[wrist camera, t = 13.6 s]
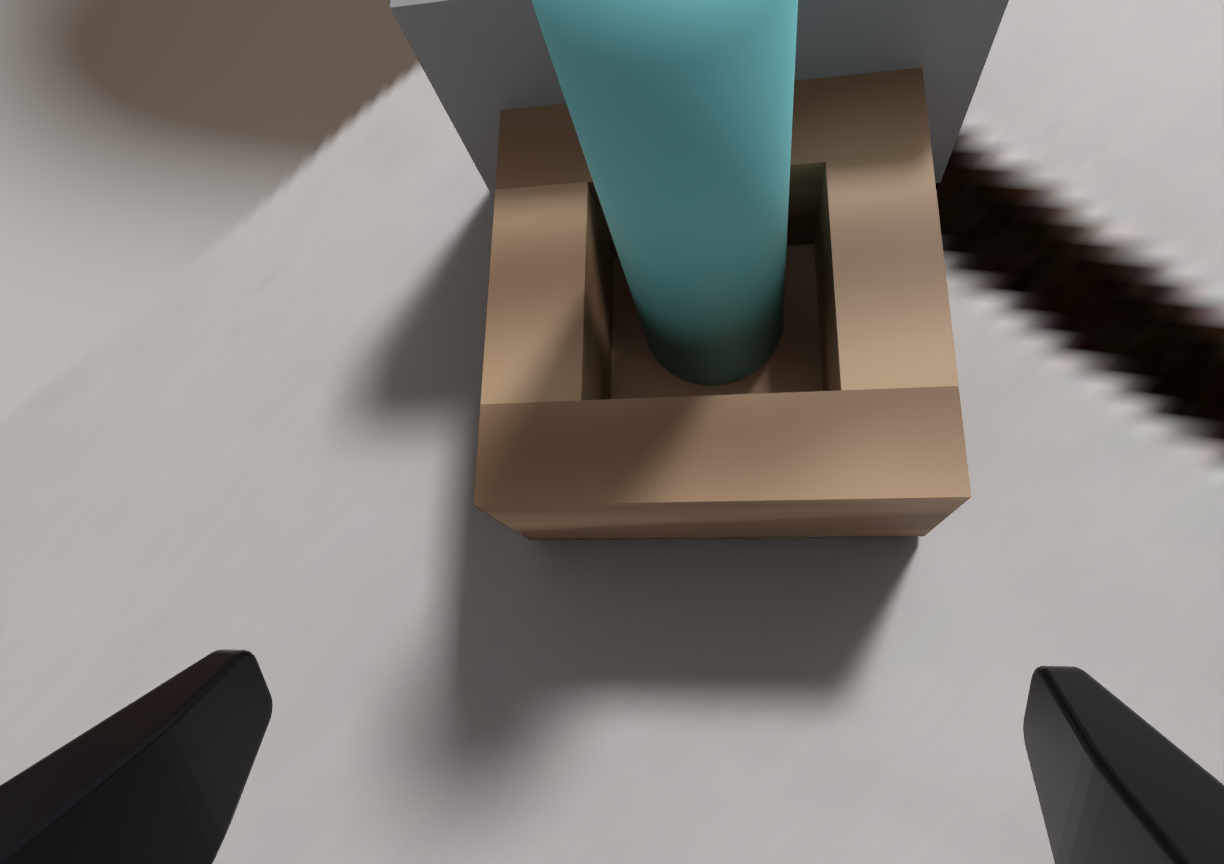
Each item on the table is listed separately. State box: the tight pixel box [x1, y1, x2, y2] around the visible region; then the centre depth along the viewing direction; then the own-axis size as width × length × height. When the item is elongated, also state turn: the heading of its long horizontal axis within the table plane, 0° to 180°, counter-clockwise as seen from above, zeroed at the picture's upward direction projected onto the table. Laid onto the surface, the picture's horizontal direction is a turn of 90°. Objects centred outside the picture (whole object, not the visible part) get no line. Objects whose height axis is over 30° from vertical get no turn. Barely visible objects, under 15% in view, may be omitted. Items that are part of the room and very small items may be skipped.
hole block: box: [474, 68, 971, 540], centre depth 22 cm, size 11×11×5 cm
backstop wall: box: [390, 0, 1009, 200], centre depth 22 cm, size 2×14×9 cm, turn 89°
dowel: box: [532, 0, 798, 385], centre depth 18 cm, size 4×4×12 cm
